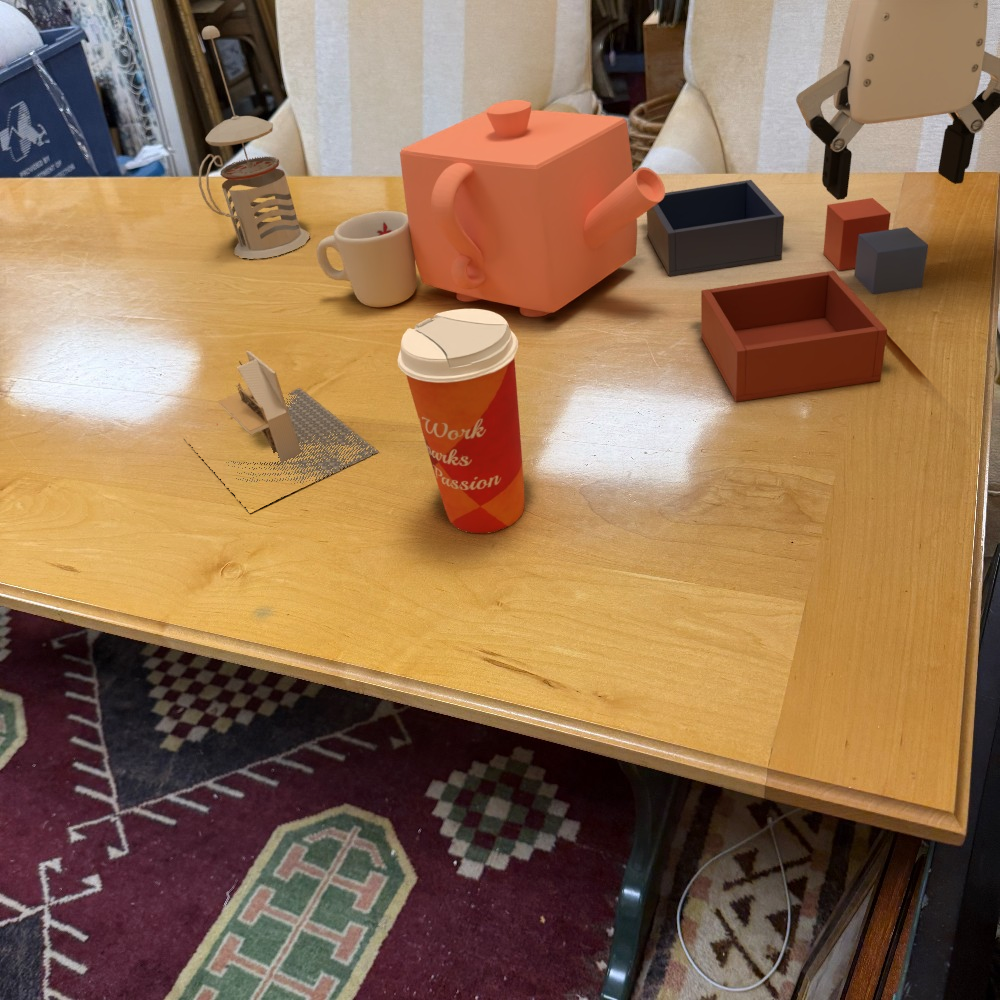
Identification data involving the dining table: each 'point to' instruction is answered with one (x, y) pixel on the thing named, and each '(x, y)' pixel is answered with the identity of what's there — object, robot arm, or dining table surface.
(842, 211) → the red block
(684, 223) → the slate bin
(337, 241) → the cup
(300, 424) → the architectural model
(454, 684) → the dining table surface
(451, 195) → the teapot
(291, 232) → the french press
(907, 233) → the slate block
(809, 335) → the terracotta bin
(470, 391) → the paper cup
